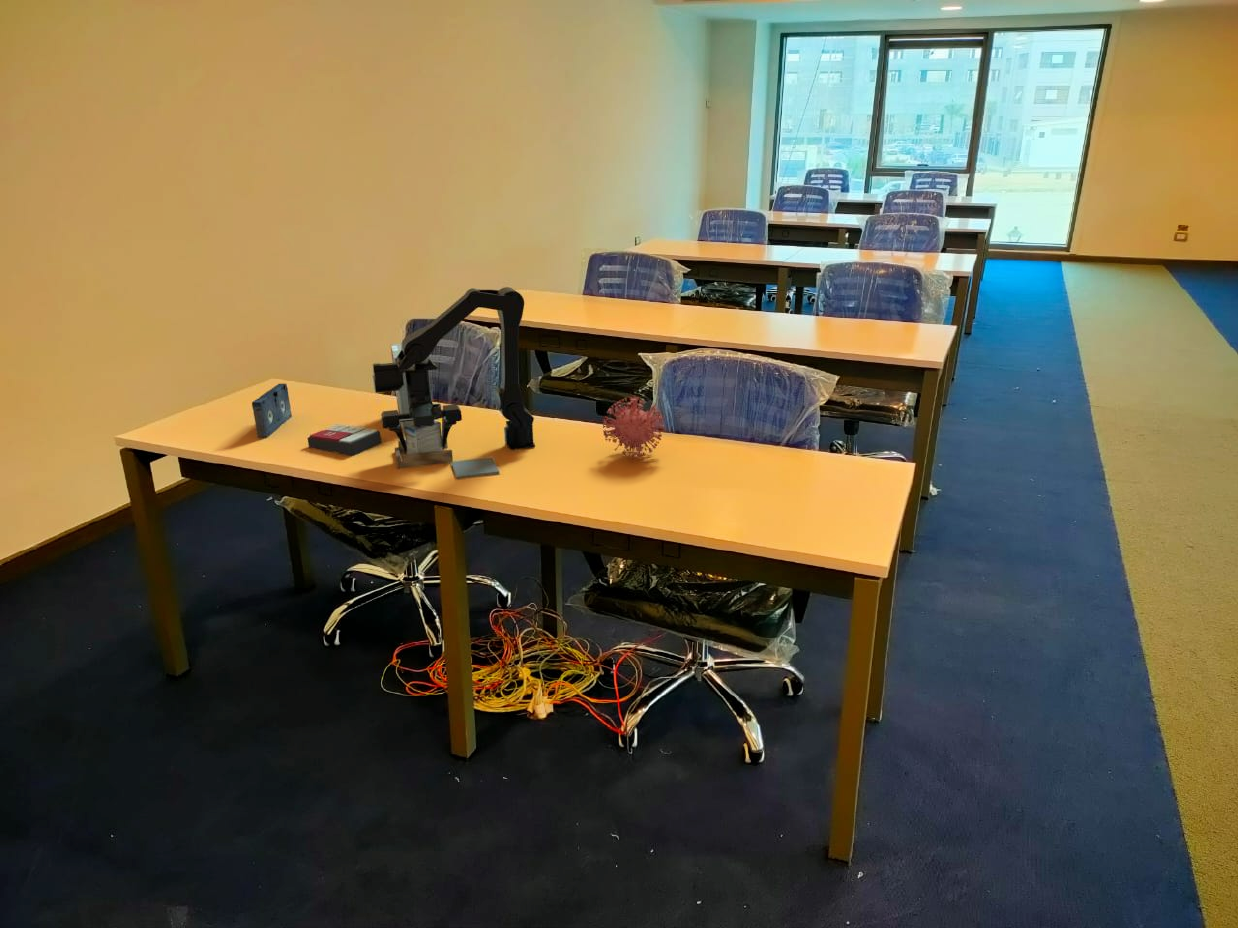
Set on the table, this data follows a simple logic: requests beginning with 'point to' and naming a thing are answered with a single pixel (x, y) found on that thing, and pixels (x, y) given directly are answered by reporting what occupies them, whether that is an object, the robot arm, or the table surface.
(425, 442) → the medicine box
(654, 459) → the table surface
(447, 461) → the wooden rack
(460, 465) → the rubber mat
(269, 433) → the vhs cassette tape
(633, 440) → the virus model
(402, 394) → the hard drive box
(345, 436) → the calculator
